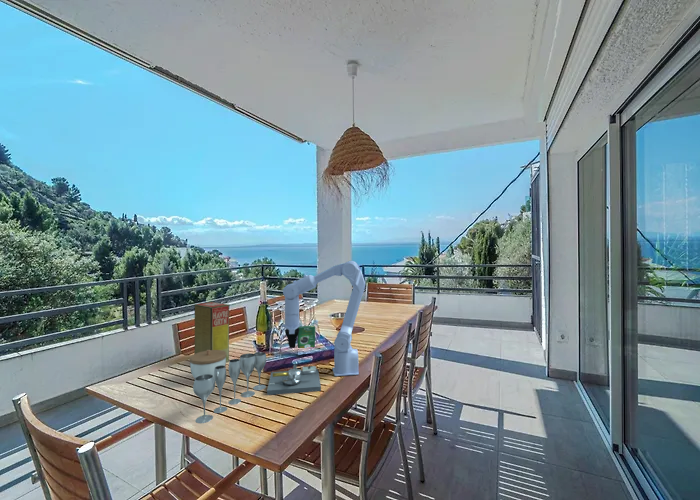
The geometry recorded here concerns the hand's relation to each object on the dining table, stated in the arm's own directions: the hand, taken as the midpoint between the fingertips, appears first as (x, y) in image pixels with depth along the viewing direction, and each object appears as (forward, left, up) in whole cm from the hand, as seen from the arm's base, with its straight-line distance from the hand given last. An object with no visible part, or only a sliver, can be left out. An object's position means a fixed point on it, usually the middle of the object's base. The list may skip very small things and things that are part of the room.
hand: (292, 347), depth 125 cm
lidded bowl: (+31, +3, -10) cm, 33 cm away
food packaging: (+35, -17, -10) cm, 40 cm away
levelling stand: (-1, +12, -9) cm, 15 cm away
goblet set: (+18, +23, -10) cm, 31 cm away
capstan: (-1, +15, -8) cm, 17 cm away
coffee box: (-6, -19, -10) cm, 22 cm away
